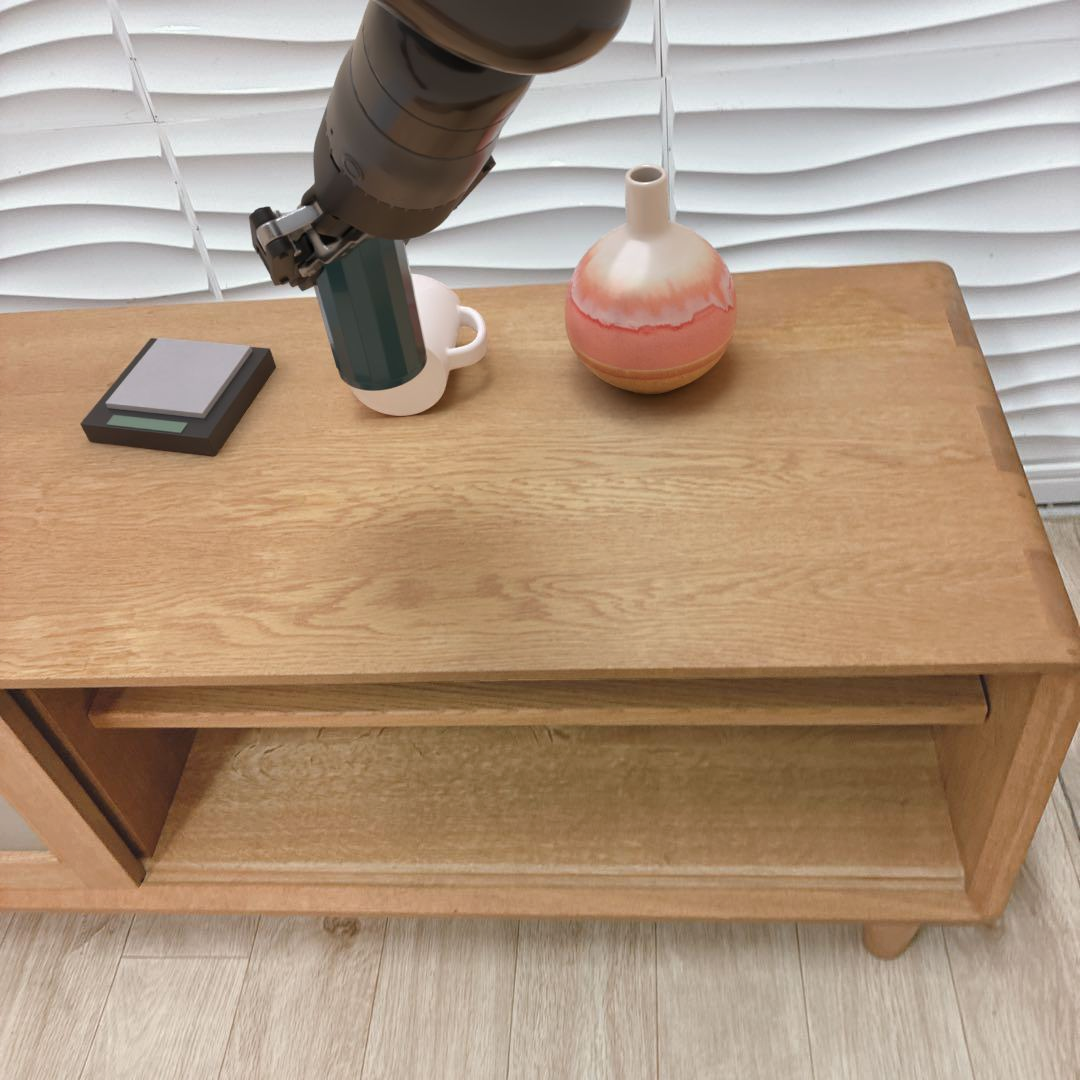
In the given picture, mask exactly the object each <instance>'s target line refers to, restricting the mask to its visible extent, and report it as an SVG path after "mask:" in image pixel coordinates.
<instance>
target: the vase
mask: <svg viewBox="0 0 1080 1080" xmlns="http://www.w3.org/2000/svg"><path fill="white" fill-rule="evenodd" d="M624 204H625V205H624V206H625V207H624V208H625V209H624V210H625V223H622V224H620V225H619V226H616V227H615V228H613V229H611V230H610V231H609V232H607V233H605V234H604V235H602V237H599V239H598V240H597V241H596V242H594V244H592V246H590V247H589V248H588V249H587V251H586V252H585V253H584V254H583V256H582V257H581V259H580V260H579V261H578V263H577V264H576V267H575V268H574V270H573V272H572V275H571V278H570V280H569V282H568V286H567V289H566V295H565V301H564V323H565V324H564V325H565V331H566V335H567V338H568V342H569V343H570V346H571V348H572V350H573V353H574V354H575V355H576V357H577V358H578V359H579V361H580V362H581V363H582V365H584V367H586V368H587V369H588V370H589V372H591V373H592V374H593V375H595V376H596V377H597V378H598V379H601V380H602V381H603V382H605V383H607V384H609V385H612V386H614V387H616V388H619V389H623V390H625V391H628V392H631V393H635V394H639V395H640V394H641V395H657V394H658V395H659V394H665V393H668V392H672V391H675V390H677V389H679V388H681V387H684V386H686V385H688V384H691V383H693V382H694V381H696V380H698V379H699V378H701V377H703V376H704V375H705V374H706V373H707V372H709V371H710V370H711V369H712V368H713V367H715V365H716V364H717V363H718V362H719V361H720V360H721V358H723V356H724V355H725V353H726V351H727V350H728V348H729V346H730V344H731V342H732V339H733V338H734V333H735V329H736V326H737V322H738V321H737V320H738V298H737V291H736V287H735V284H734V281H733V276H732V274H731V271H730V269H729V267H728V266H727V263H726V262H725V260H724V258H723V257H722V256H721V254H720V252H718V250H716V248H715V247H714V246H713V245H712V244H711V243H710V242H709V241H708V240H707V239H705V238H704V237H703V236H701V235H700V234H699V233H697V232H696V231H695V230H692V229H691V228H689V227H687V226H684V225H683V224H681V223H678V222H676V221H673V220H671V219H670V199H669V179H668V171H667V170H666V169H665V168H664V167H663V166H661V165H657V164H652V163H651V164H650V163H643V164H638V165H635V166H633V167H631V168H630V169H628V170H627V171H626V173H625V175H624Z"/></svg>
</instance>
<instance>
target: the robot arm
mask: <svg viewBox="0 0 1080 1080" xmlns="http://www.w3.org/2000/svg"><path fill="white" fill-rule="evenodd" d="M632 5H633V0H368V2H367V5H366V8H365V11H364V13H363V16H362V19H361V22H360V25H359V28H358V31H357V34H356V37H355V39H354V41H353V42H352V44H351V45H350V47H349V49H348V50H347V52H346V53H345V54H344V57H343V59H342V61H341V63H340V65H339V69H338V71H337V73H336V77H335V79H334V82H333V86H332V88H331V92H330V94H329V97H328V100H327V103H326V106H325V108H324V112H323V116H322V119H321V121H320V124H319V127H318V130H317V133H316V137H315V139H314V140H315V141H314V145H313V154H312V155H313V157H312V158H313V159H312V160H313V161H312V162H313V163H312V164H313V176H314V182H313V184H311V186H310V187H309V188H308V189H307V190H306V191H305V192H304V193H303V195H302V197H301V199H300V204H298V205H297V207H296V208H295V209H294V210H292V211H289V212H287V213H285V214H283V215H282V213H281V211H280V210H279V209H276V210H274V211H273V209H272V208H271V206H269V205H268V206H267V205H266V206H263V207H262V206H261V207H258V208H256V209H254V211H253V212H252V213H250V215H249V216H248V221H249V228H250V235H251V236H250V237H251V243H252V248H253V249H254V251H255V252H256V254H258V256H259V258H260V260H261V262H262V263H263V265H264V267H265V268H266V270H267V272H268V274H269V276H270V280H271V282H272V283H273V286H275V287H277V286H280V285H281V286H285V285H287V284H289V286H290V288H296V287H298V289H299V290H300V291H301V292H305V291H307V290H309V289H311V288H314V284H315V282H316V279H317V278H318V275H319V273H320V271H321V269H322V268H321V267H322V266H323V265H325V264H328V263H332V262H335V261H339V260H343V259H345V258H346V257H347V256H348V255H349V254H350V253H351V252H353V251H354V250H355V249H356V248H357V247H358V246H359V245H360V244H361V243H363V242H364V241H368V240H371V239H374V238H375V237H379V238H383V239H390V240H404V242H405V247H406V246H407V245H408V243H409V242H410V240H411V239H415V238H418V237H422V236H425V235H426V234H428V233H431V232H432V231H434V230H435V229H437V228H438V227H439V226H441V225H442V224H443V223H444V222H445V221H446V220H447V219H448V218H449V217H450V215H451V214H452V213H453V211H455V210H457V209H458V207H459V206H460V205H461V204H462V203H464V201H465V200H466V198H468V196H469V195H470V194H471V193H472V192H473V191H474V190H475V189H476V187H477V186H478V185H479V184H481V182H482V181H483V179H484V178H485V177H486V176H487V175H488V174H489V173H490V172H491V171H492V170H493V169H494V167H495V166H497V163H496V160H495V159H494V157H493V152H494V150H495V148H496V146H497V144H498V141H499V138H500V135H501V133H502V130H503V128H504V127H505V125H506V124H507V122H508V121H509V119H510V118H511V117H512V115H513V113H514V112H515V111H516V109H517V108H518V107H519V105H520V103H522V101H523V99H524V97H525V96H526V94H527V93H528V91H529V89H530V87H531V86H532V84H533V82H534V81H535V78H536V76H541V75H550V74H555V73H559V72H563V71H567V70H570V69H573V68H576V67H579V66H581V65H583V64H585V63H586V62H588V61H589V60H591V59H593V58H594V57H596V56H598V55H600V53H602V52H604V50H605V49H606V48H607V47H609V46H610V45H611V43H612V42H613V41H614V39H616V37H617V36H618V35H619V33H620V32H621V30H622V28H623V27H624V25H625V23H626V21H627V19H628V16H629V14H630V10H631V8H632ZM306 234H307V235H308V237H309V239H310V241H311V242H312V244H313V246H314V251H313V249H312V247H311V246H310V244H309V242H308V240H307V238H306V237H305V235H306ZM337 237H339V238H342V239H341V240H340V241H339V240H338V238H337Z"/></svg>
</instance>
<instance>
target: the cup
mask: <svg viewBox="0 0 1080 1080" xmlns="http://www.w3.org/2000/svg"><path fill="white" fill-rule="evenodd" d="M305 237H306V238H307V240H308V242H309V244H310V246H311V247H312V249H313V251H314V246H313V244H312V242H311V241H310V239H309V237H308V235H307V234H306V235H305ZM337 238H338V240H339V241H340V240H341V239H342V238H339V237H337ZM409 261H410V260H409V257H408V251H407V247H406V246H405V242H404V240H390V239H383V238H379V237H375V238H374V239H371V240H368V241H364V242H363V243H361V244H360V245H359V246H358V247H357V248H356V249H355V250H354V251H353V252H351V253H350V254H349V255H348V256H347V257H346V258H345V259H343V260H339V261H335V262H332V263H328V264H325V265H323V266H322V267H321V268H322V269H321V271H320V273H319V275H318V278H317V279H316V282H315V284H314V286H313V289H314V292H315V296H316V299H317V303H318V307H319V310H320V314H321V317H322V321H323V325H324V328H325V332H326V335H327V339H328V342H329V346H330V349H331V353H332V356H333V360H334V364H335V368H336V369H337V371H338V374H339V377H340V379H341V380H342V381H343V383H345V384H346V385H348V386H349V385H350V386H351V387H354V388H356V389H360V390H366V391H380V390H387V389H391V388H395V387H398V386H401V385H403V384H405V383H407V382H409V381H411V380H412V379H414V378H415V377H416V376H417V375H418V374H419V373H420V372H421V371H422V370H423V368H424V367H425V365H426V362H427V352H426V346H425V340H424V335H423V330H422V325H421V320H420V315H419V310H418V305H417V300H416V296H415V291H414V286H413V281H412V276H411V274H412V271H411V267H410V266H411V265H410V262H409ZM350 386H349V387H350Z"/></svg>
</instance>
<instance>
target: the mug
mask: <svg viewBox="0 0 1080 1080" xmlns="http://www.w3.org/2000/svg"><path fill="white" fill-rule="evenodd" d="M411 276H412V281H413V286H414V291H415V296H416V300H417V305H418V310H419V315H420V320H421V325H422V330H423V335H424V340H425V346H426V352H427V362H426V365H425V367H424V368H423V370H422V371H421V372H420V373H419V374H418V375H417V376H416V377H415V378H414V379H412V380H411V381H409V382H407V383H405V384H403V385H401V386H398V387H395V388H391V389H387V390H380V391H366V390H360V389H356V388H354V387H351V386H350V385H348V386H349V389H350V390H351V393H353V395H354V396H355V397H356V399H358V401H360V403H362V404H363V405H365V406H366V407H368V408H369V409H372V410H373V411H375V412H378V413H381V414H385V415H389V416H394V417H395V416H398V417H403V416H412V415H416V414H420V413H422V412H425V411H427V410H428V409H430V408H431V407H434V405H435V404H437V403H438V402H439V400H440V399H441V398H442V397H443V395H444V393H445V391H446V388H447V387H446V386H447V383H448V379H449V375H450V371H452V370H456V369H461V368H465V367H470V366H472V365H474V364H477V363H479V362H480V361H481V360H482V359H483V357H485V355H486V353H487V351H488V348H489V337H488V330H487V326H486V321H485V319H484V318H483V316H482V315H481V314H480V312H478V311H477V310H476V309H474V308H472V307H470V306H465V305H463V304H462V302H461V299H460V298H459V296H458V295H457V293H455V292H454V291H453V290H452V289H450V288H449V287H448V286H447V285H445V284H444V283H442V282H441V281H439V280H437V279H435V278H432V277H430V276H426V275H422V274H419V273H417V274H416V273H411ZM461 327H468V328H470V329H473V330H474V332H476V337H475V338H474V340H473V341H472V342H470V343H467V344H465V345H461V346H458V347H456V346H457V342H458V338H459V334H460V331H461Z"/></svg>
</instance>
